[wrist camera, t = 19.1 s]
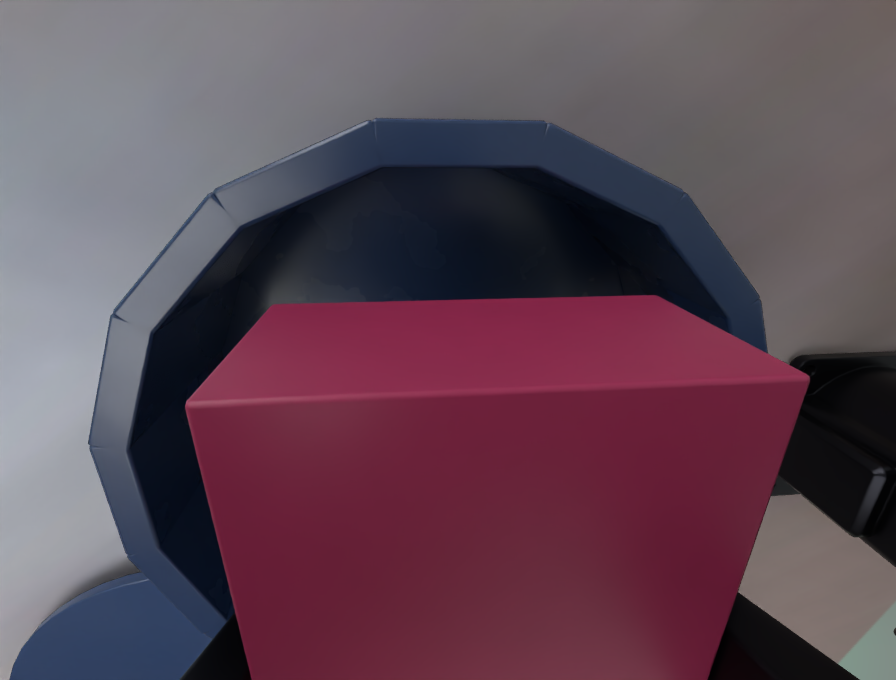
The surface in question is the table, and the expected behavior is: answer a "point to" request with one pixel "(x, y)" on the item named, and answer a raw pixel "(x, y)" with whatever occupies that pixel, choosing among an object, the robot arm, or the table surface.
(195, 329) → the tin
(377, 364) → the wallet
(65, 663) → the tin lid
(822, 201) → the table surface
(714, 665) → the robot arm
